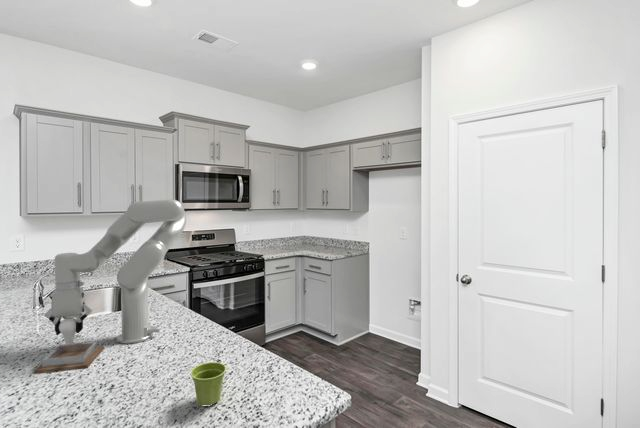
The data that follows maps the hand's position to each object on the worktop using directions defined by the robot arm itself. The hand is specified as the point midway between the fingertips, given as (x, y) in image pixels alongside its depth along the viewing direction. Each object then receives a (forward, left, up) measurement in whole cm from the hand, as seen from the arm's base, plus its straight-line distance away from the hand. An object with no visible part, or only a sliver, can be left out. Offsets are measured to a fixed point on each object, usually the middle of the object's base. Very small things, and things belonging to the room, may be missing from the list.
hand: (69, 332), depth 128 cm
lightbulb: (0, 0, -6) cm, 6 cm away
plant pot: (-54, +50, -6) cm, 74 cm away
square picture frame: (-6, +13, -6) cm, 15 cm away
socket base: (-6, +13, -6) cm, 15 cm away
